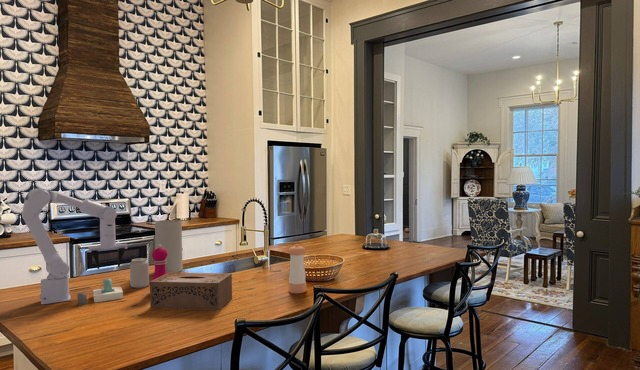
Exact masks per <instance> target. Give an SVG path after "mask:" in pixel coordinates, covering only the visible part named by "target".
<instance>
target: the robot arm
mask: <svg viewBox="0 0 640 370" xmlns="http://www.w3.org/2000/svg"><path fill="white" fill-rule="evenodd" d="M49 203H51V204H54V203H60V204H64V205H68V206H71V207H74V208H78V209H79V211H80V213H82V214H85V215H88V216H92V217H95V218H99V237H100V239H99V241H100V242H99V243H100V244H99V245H94V246H88V248H87V249H88V253H91V255H92V257H93V259H94V261H95V263H96V266H97V267H96V268H97V270H100V262H99V256H100V255H99V252H102V251H112V250H113V251H114V250H117V267H119V268H120V267H121V262H122V259H123V256H124V254H125V250H127V249H128V243H116V242H117V241H116V218H117V216H118V213H117V210H116V209H115V208H114V207H112V206H108V205H106V203H100V202H98V201H95V199H92V198H89V199H88V198H86V199H84V200H81V199H78V198H75V197H72V196H70V195H67V194H65V193H62V192H59V191H55V190H49V189H48V190H47V189H44V188H37V187H36V188H32V189H31V190H29V191H28V193H27V194H26V195H25V197H24V202H23V206H22V211H21V216H22V219H23V221H24V223H25V225H26V226H27V228H28V231H29V233H30V234H31V236H32V238H33V240H34V241H35V243H36V246H37V247H38V249H39V251H40V253H41V254H42V256H43V260H44V263H45V269H46V272H47V273H48V275H47V276H46V278H42V279H41V280H40V295H39V296H40V297H39V298H40V304H41V305H47V304H48V305H49V304H54V303H55V304H56V303H61V302H69V301H71V294H70V282H69V281H70V279H69V277H70V276H69V272H70V265H69V264H68V263H67V262H65V261H64V260H63V257H61V256H60V254H59V253H58V251H57V248H56V247H55V245H54V243H53V241H52V238H51V237H50V235H49V234H48V231H47V229H46V228H45V226H44V224H43V222H42V220H41V219H40V214H41V213H42V210H43V209H44V208H45V207H46V206H47V205H48V204H49Z"/></svg>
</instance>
